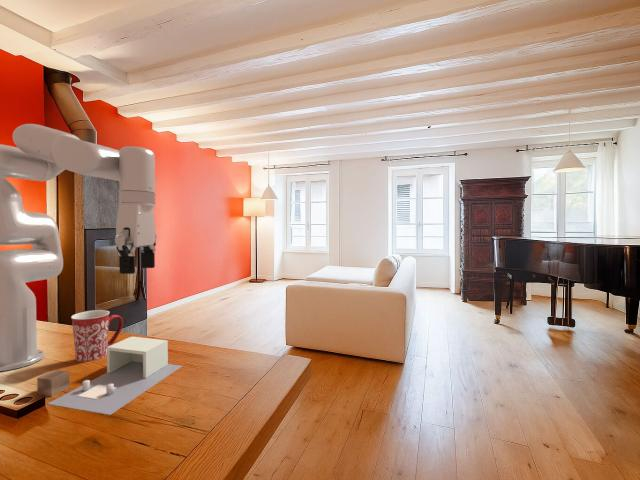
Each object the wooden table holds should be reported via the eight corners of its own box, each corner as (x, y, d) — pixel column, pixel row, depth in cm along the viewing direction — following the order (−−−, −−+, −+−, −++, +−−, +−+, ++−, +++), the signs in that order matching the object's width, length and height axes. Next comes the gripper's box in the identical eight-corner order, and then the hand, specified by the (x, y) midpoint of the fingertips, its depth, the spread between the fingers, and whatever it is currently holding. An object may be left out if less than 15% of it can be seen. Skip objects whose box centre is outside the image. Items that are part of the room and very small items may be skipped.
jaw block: (37, 399, 71) (37, 377, 71) (55, 390, 75) (55, 369, 75) (51, 402, 70) (51, 379, 70) (69, 392, 74) (69, 371, 74)
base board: (47, 409, 67) (47, 394, 67) (132, 363, 90) (132, 352, 90) (110, 420, 64) (110, 405, 64) (182, 370, 86) (182, 358, 86)
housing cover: (107, 372, 81) (106, 347, 81) (131, 359, 89) (131, 336, 89) (146, 378, 79) (145, 351, 79) (167, 364, 87) (167, 340, 86)
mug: (77, 370, 85) (76, 320, 84) (67, 360, 91) (67, 314, 90) (128, 355, 95) (128, 311, 94) (117, 348, 100) (117, 306, 100)
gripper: (139, 202, 85) (140, 265, 86) (98, 196, 68) (100, 276, 68) (168, 202, 85) (168, 266, 86) (135, 197, 68) (136, 276, 69)
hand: (138, 270), depth 77 cm, fingers open, 9 cm apart
